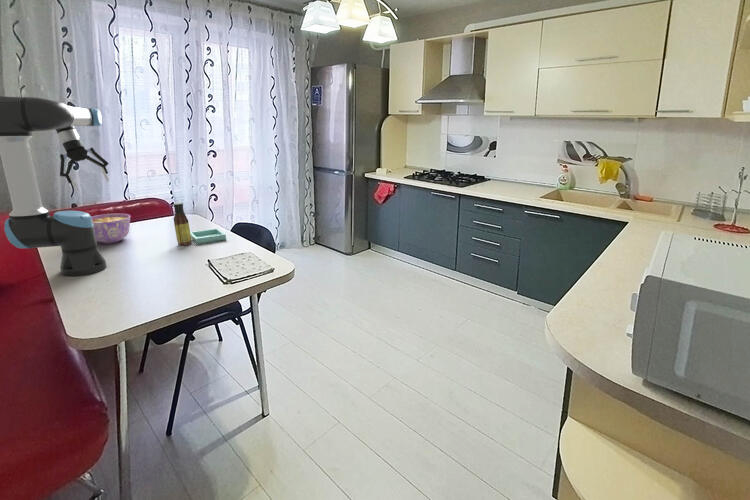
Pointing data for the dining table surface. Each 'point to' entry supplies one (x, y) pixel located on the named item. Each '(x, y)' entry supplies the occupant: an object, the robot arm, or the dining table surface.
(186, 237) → the sauce bottle
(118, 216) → the bowl of food
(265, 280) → the dining table surface
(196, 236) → the tray
